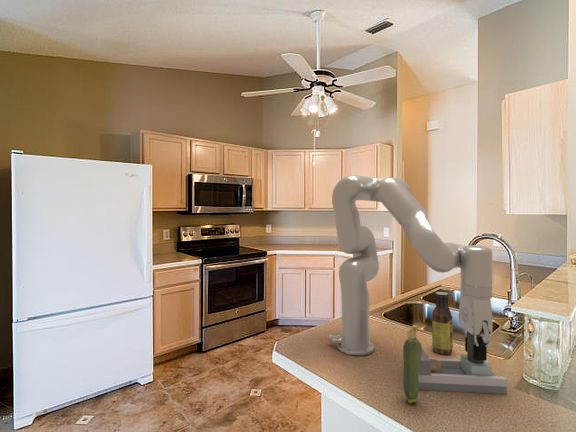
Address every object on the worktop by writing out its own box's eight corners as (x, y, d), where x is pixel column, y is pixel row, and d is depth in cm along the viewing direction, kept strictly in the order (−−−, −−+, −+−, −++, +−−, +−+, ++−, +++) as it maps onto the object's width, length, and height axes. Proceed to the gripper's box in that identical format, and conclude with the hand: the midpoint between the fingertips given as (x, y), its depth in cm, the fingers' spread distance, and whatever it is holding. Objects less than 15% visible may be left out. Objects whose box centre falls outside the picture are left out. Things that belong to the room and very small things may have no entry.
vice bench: (415, 389, 85) (415, 360, 85) (405, 370, 95) (405, 344, 95) (506, 394, 82) (507, 364, 82) (487, 374, 92) (487, 347, 92)
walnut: (428, 376, 87) (428, 365, 87) (423, 369, 91) (423, 358, 91) (443, 377, 87) (443, 366, 87) (438, 370, 91) (438, 359, 91)
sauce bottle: (455, 356, 103) (455, 296, 103) (434, 355, 105) (435, 295, 104) (449, 347, 110) (449, 291, 109) (430, 346, 111) (430, 290, 110)
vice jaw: (471, 380, 85) (471, 336, 85) (460, 367, 92) (460, 326, 91) (491, 381, 84) (491, 337, 84) (478, 368, 91) (479, 327, 91)
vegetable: (400, 396, 82) (400, 320, 81) (416, 395, 82) (416, 319, 82) (408, 407, 77) (408, 326, 77) (425, 406, 78) (425, 326, 77)
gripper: (449, 282, 96) (449, 342, 97) (476, 298, 79) (475, 370, 80) (475, 283, 95) (475, 343, 96) (508, 299, 79) (507, 372, 79)
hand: (475, 354), depth 88 cm, fingers closed on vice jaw, 4 cm apart
